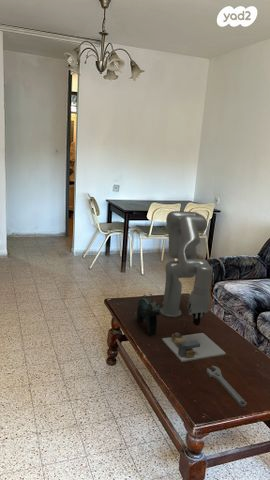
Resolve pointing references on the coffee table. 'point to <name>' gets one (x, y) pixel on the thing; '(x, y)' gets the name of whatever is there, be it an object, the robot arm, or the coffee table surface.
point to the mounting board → (199, 351)
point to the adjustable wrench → (226, 385)
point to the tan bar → (179, 339)
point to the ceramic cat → (148, 314)
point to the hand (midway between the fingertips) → (196, 324)
